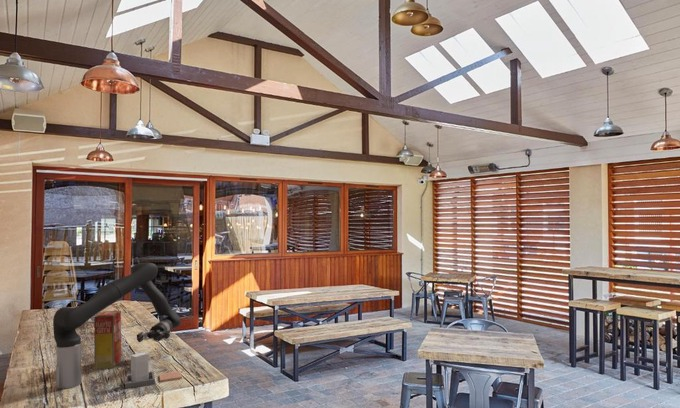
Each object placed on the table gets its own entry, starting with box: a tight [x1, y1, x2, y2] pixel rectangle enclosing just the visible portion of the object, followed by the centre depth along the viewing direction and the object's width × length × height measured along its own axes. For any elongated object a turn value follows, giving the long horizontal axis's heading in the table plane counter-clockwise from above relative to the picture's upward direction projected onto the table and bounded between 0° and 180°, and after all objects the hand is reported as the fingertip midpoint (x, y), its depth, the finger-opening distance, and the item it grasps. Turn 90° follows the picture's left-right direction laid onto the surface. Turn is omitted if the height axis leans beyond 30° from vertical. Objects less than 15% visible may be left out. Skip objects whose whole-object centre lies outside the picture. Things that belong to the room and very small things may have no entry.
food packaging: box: [93, 310, 122, 370], centre depth 232 cm, size 13×9×25 cm
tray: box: [124, 371, 156, 389], centre depth 206 cm, size 12×12×2 cm
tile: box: [158, 370, 183, 383], centre depth 210 cm, size 9×9×1 cm
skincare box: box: [130, 351, 150, 382], centre depth 206 cm, size 6×4×12 cm
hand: (148, 339), depth 217 cm, fingers open, 8 cm apart
